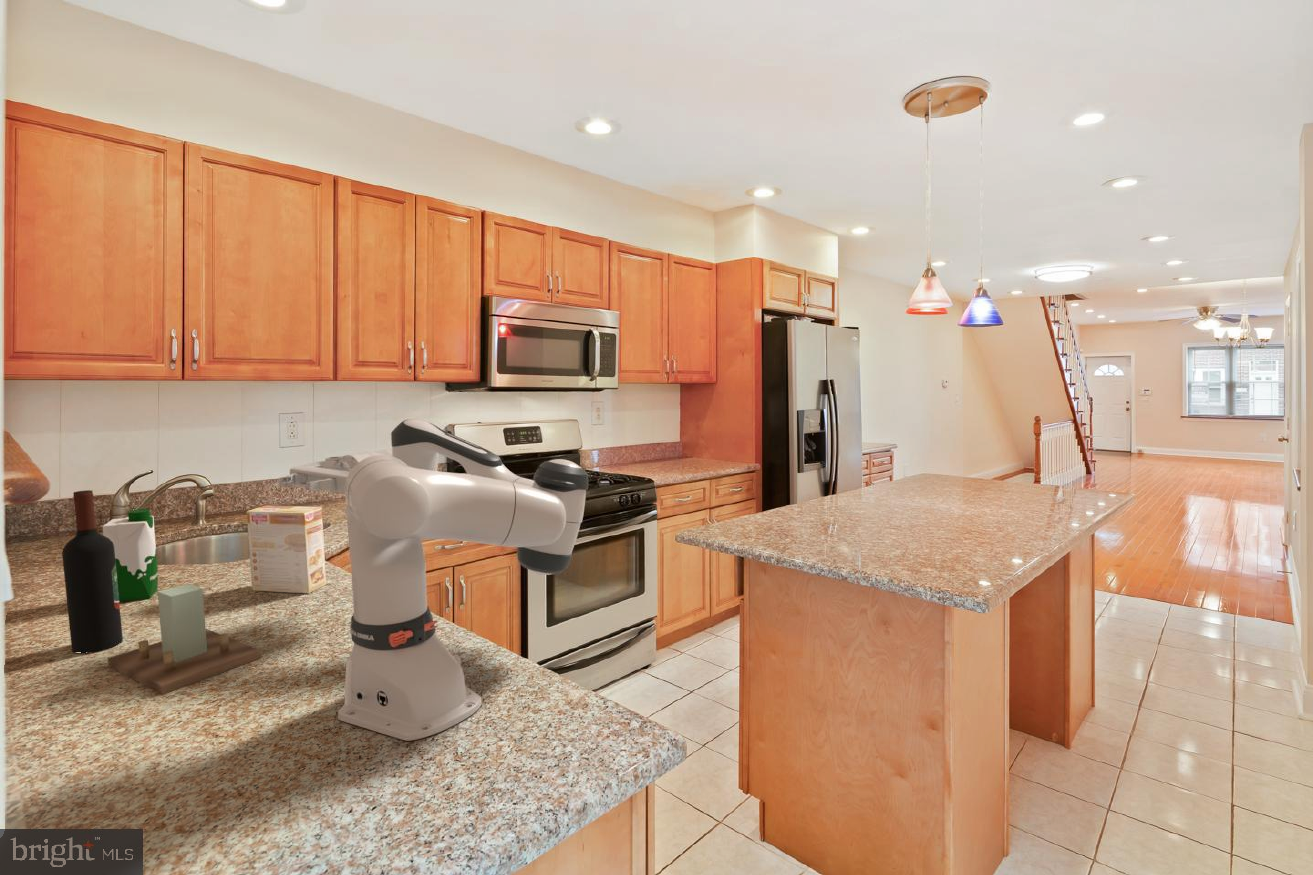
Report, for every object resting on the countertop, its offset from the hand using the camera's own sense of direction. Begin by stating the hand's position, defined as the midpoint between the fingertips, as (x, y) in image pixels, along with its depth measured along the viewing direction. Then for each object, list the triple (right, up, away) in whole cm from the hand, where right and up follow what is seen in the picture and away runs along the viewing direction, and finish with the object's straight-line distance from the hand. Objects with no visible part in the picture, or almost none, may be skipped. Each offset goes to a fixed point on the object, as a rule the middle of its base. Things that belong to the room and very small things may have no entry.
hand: (294, 484), depth 135 cm
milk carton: (-49, -28, +23) cm, 61 cm away
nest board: (-14, -32, -12) cm, 36 cm away
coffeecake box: (-16, -27, +29) cm, 43 cm away
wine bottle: (-35, -31, -4) cm, 47 cm away
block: (-13, -30, -12) cm, 35 cm away
